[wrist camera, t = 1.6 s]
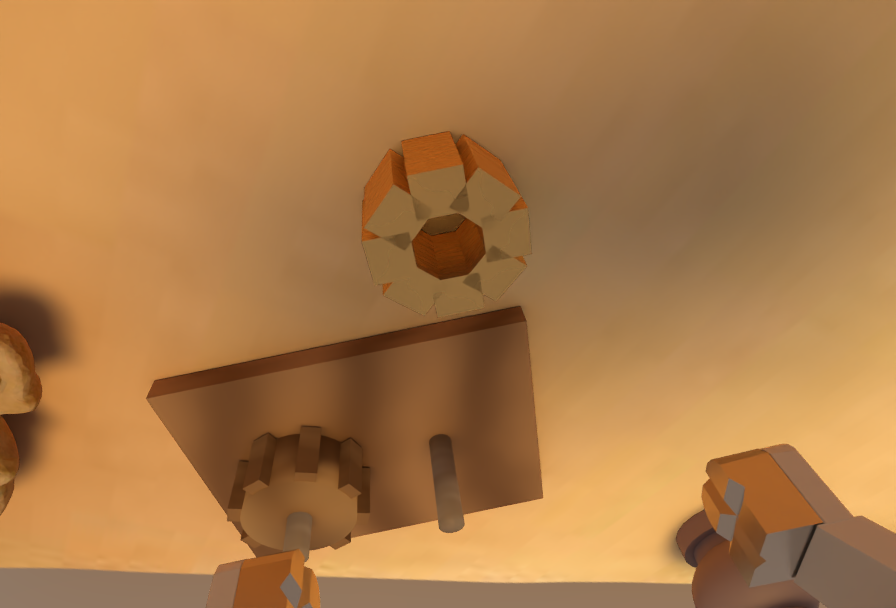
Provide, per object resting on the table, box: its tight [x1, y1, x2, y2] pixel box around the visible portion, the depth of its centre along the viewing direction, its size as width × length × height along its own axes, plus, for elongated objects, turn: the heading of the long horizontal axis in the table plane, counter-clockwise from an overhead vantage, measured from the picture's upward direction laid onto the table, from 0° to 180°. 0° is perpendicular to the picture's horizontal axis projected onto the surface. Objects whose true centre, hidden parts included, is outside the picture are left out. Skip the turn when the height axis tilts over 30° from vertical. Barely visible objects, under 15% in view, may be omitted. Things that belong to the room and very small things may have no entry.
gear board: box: [146, 306, 543, 563], centre depth 27 cm, size 18×14×6 cm
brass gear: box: [362, 131, 532, 318], centre depth 21 cm, size 6×6×4 cm
